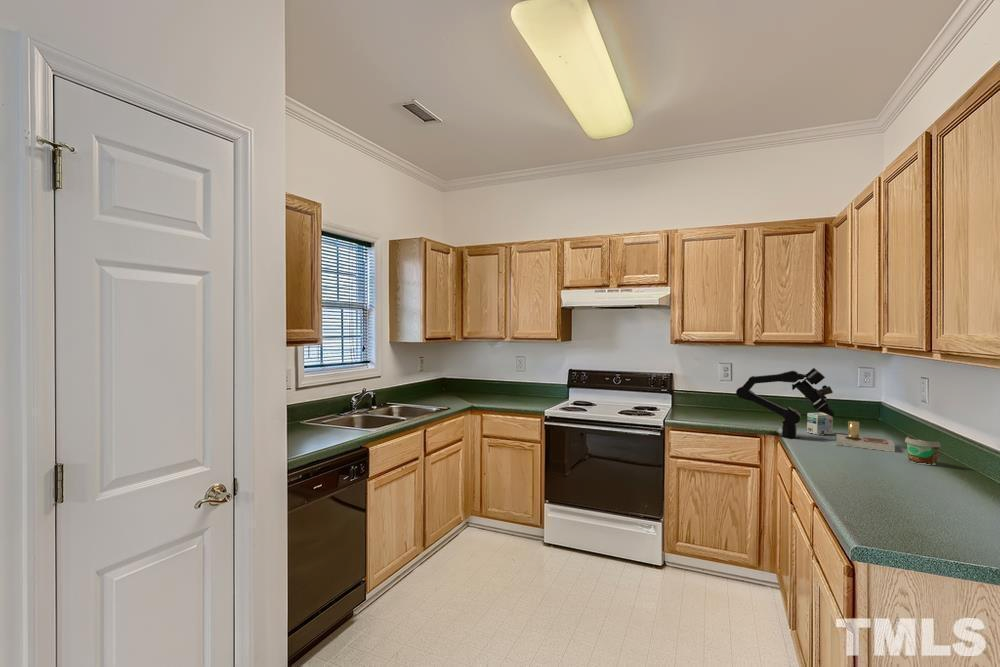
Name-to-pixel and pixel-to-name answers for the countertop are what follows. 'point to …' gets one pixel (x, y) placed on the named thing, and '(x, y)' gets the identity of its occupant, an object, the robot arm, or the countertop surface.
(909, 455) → the food container
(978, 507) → the countertop surface
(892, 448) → the socket plate
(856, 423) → the brass peg
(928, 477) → the countertop surface
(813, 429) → the light bulb box
